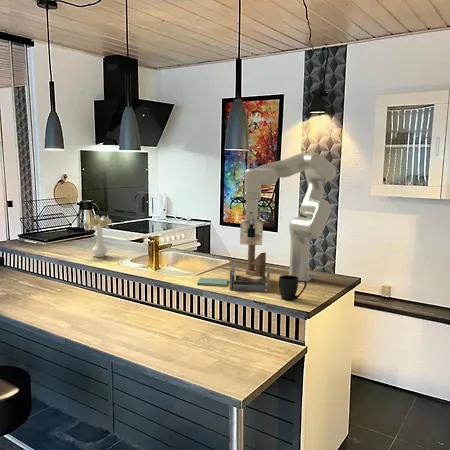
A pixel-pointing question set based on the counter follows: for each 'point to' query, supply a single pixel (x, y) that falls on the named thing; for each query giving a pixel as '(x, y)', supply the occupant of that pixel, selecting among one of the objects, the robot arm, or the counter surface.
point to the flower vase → (99, 234)
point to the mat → (212, 282)
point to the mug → (289, 287)
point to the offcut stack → (249, 278)
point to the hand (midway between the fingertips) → (251, 236)
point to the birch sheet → (244, 233)
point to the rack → (248, 282)
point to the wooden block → (255, 262)
